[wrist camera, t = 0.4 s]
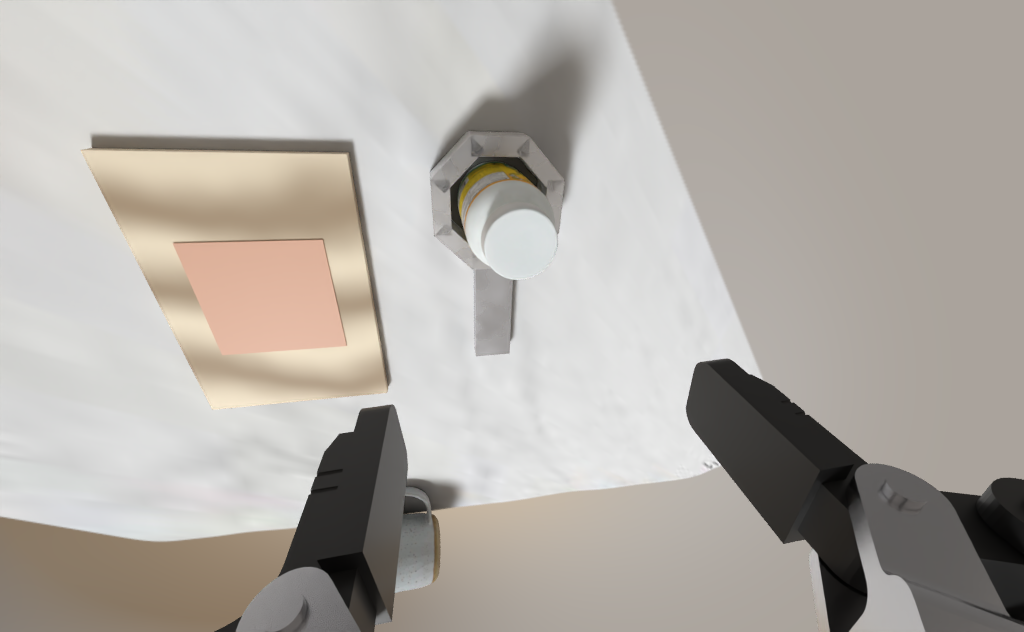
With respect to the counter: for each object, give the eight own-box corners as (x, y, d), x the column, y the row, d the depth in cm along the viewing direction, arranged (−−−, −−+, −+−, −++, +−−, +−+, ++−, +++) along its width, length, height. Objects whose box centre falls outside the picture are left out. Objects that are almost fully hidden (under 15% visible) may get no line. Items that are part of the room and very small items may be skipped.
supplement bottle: (442, 181, 26) (450, 224, 18) (510, 145, 26) (549, 172, 18) (477, 245, 29) (497, 306, 21) (539, 213, 29) (583, 263, 21)
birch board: (90, 148, 22) (79, 150, 21) (348, 152, 24) (346, 154, 24) (216, 403, 32) (211, 410, 31) (388, 386, 35) (387, 393, 34)
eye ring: (427, 129, 24) (427, 133, 22) (558, 133, 26) (569, 137, 24) (441, 350, 34) (442, 368, 32) (537, 343, 35) (544, 359, 33)
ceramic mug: (434, 533, 48) (436, 602, 42) (367, 539, 46) (357, 613, 40) (442, 481, 43) (445, 550, 37) (367, 485, 41) (356, 559, 35)
